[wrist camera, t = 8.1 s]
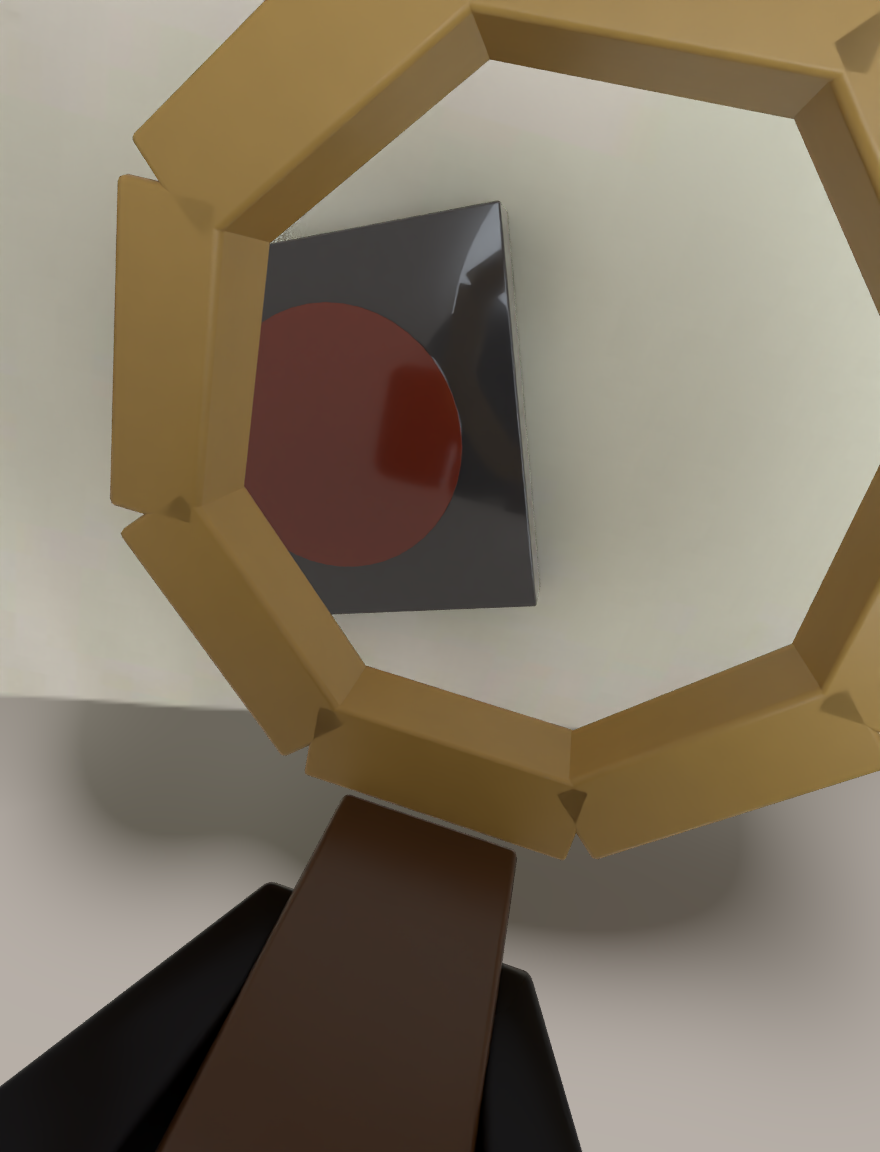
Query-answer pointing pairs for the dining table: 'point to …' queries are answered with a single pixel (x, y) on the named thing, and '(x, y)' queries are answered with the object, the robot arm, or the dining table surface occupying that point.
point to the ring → (314, 639)
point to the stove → (397, 415)
